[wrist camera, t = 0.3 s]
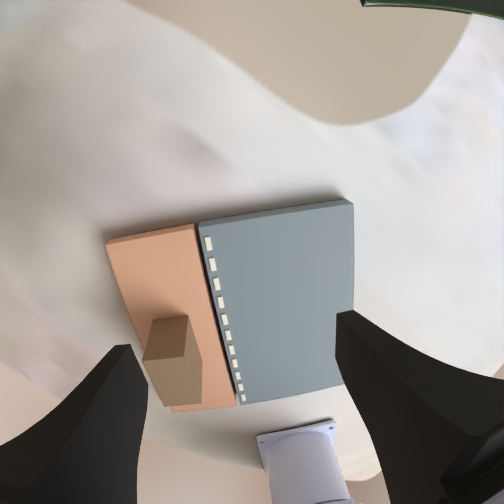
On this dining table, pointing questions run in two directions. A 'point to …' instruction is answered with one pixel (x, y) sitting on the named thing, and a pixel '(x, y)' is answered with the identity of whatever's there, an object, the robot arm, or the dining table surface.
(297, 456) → the robot arm
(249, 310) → the board
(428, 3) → the olive sloped mound
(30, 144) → the dining table surface
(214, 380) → the stub
